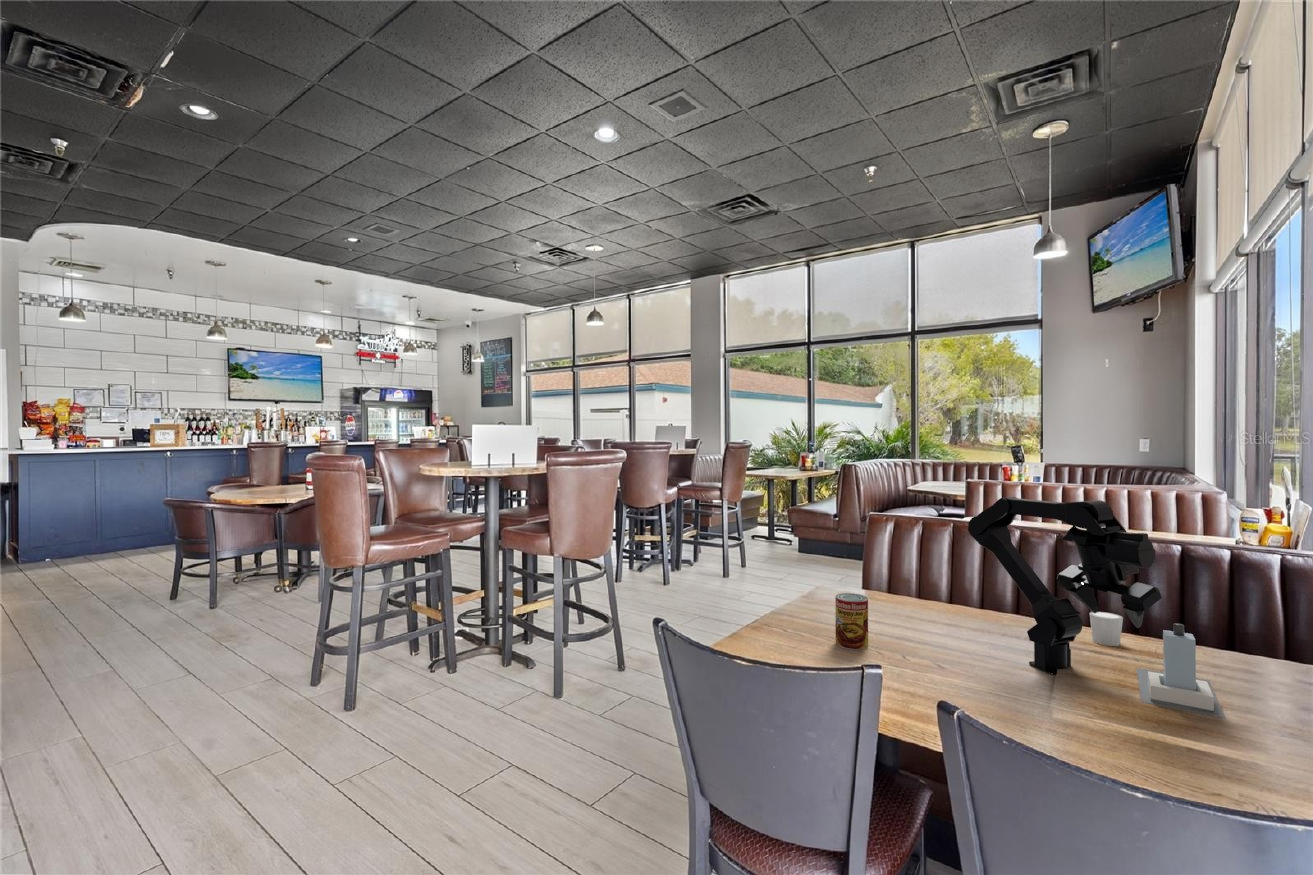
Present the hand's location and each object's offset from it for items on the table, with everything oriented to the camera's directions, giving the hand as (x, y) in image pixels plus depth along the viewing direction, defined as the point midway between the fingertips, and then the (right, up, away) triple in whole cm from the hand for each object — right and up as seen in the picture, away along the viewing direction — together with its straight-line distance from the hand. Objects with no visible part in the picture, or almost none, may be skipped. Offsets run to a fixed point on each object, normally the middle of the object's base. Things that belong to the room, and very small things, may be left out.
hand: (1116, 619), depth 131 cm
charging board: (+4, -12, -10) cm, 16 cm away
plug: (+2, -11, -14) cm, 18 cm away
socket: (+2, -11, -14) cm, 18 cm away
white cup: (+14, -13, +22) cm, 30 cm away
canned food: (-51, -13, +21) cm, 57 cm away
